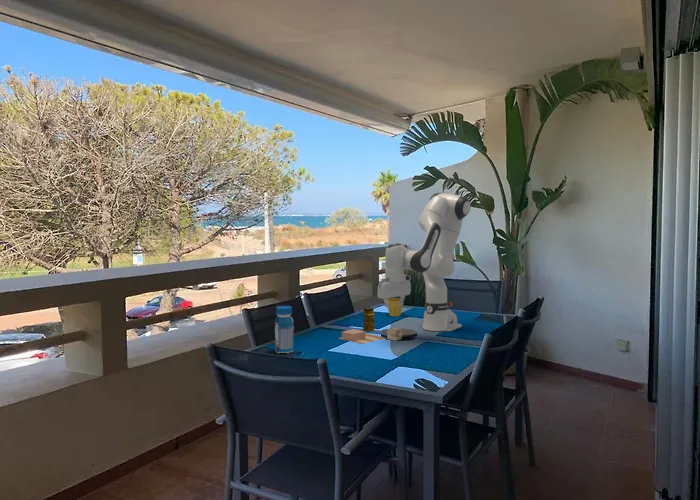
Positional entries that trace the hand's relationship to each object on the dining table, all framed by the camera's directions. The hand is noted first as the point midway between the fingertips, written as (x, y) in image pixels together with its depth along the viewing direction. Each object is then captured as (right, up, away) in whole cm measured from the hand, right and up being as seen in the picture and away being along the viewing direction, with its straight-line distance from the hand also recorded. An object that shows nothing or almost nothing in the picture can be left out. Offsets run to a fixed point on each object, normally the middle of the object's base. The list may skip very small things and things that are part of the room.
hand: (394, 306), depth 236 cm
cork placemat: (-15, -16, +3) cm, 23 cm away
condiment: (-12, -16, +21) cm, 29 cm away
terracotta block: (-20, -16, +2) cm, 25 cm away
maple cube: (0, -17, +1) cm, 17 cm away
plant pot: (+6, -13, +62) cm, 63 cm away
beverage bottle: (-50, -18, -19) cm, 57 cm away
